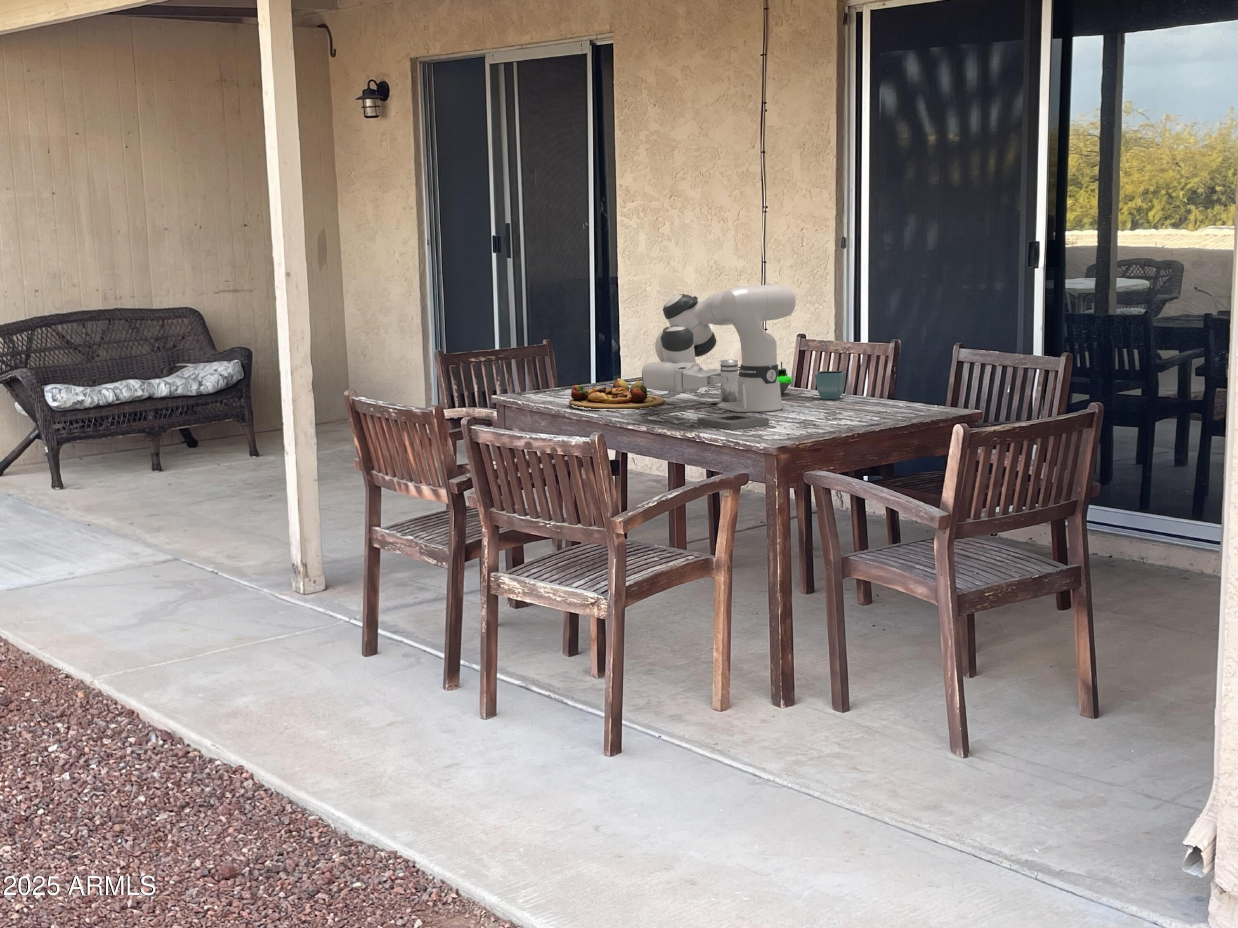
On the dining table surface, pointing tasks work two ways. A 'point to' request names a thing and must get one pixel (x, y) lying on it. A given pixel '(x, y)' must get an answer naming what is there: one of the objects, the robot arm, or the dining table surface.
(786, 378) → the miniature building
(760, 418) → the bore block
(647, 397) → the wooden plate with food
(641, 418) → the dining table surface
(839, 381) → the flower pot
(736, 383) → the white pepper mill
